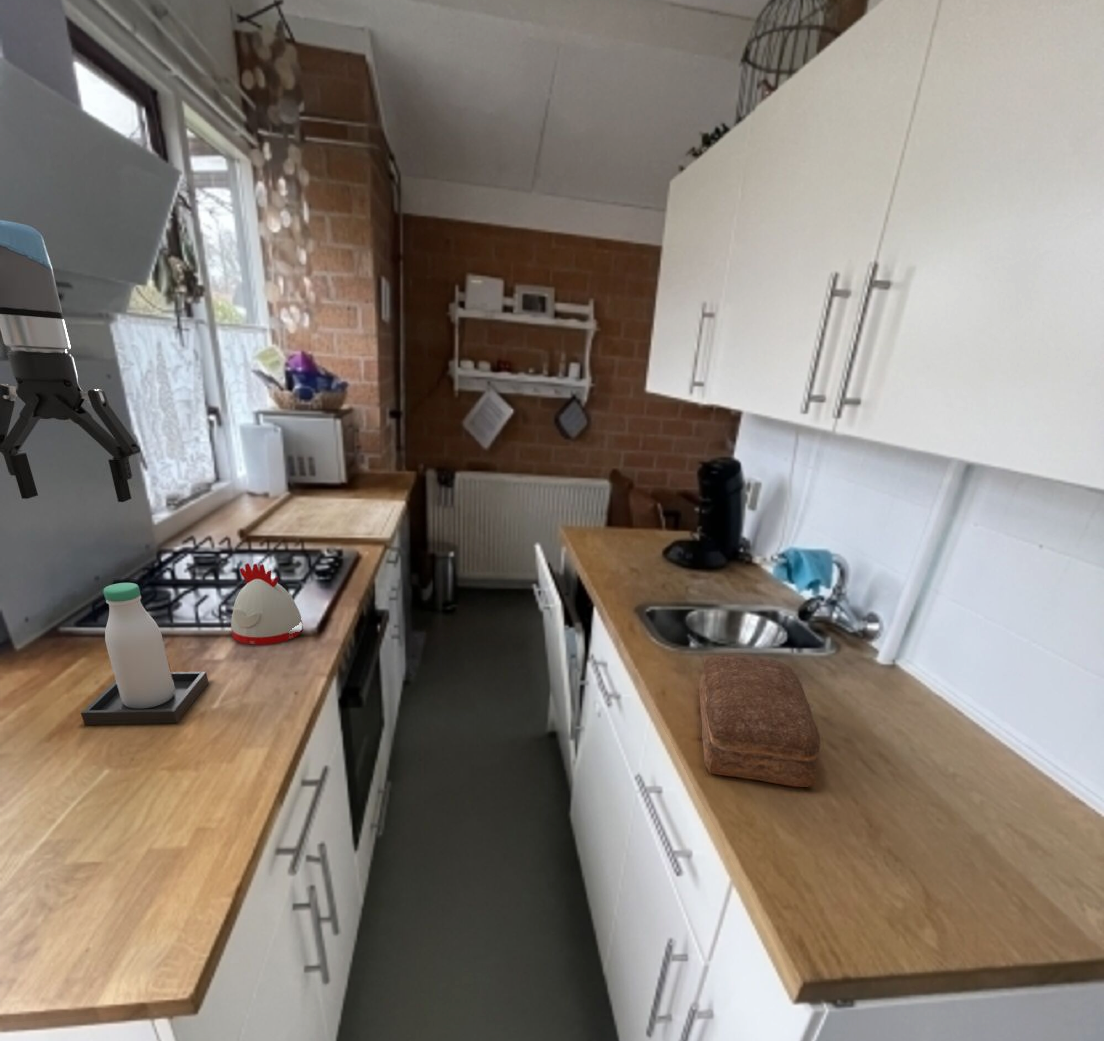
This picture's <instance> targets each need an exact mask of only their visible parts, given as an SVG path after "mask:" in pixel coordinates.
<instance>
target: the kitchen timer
mask: <svg viewBox="0 0 1104 1041" xmlns="http://www.w3.org/2000/svg"><path fill="white" fill-rule="evenodd" d="M239 572H240V574H241V576H242V577H243V579H244V581H245V583H246V584H245V585H244V586H243V587H242V588H241V589H240V591H239V593H238V594H237V596H236V598H235V601H234V603H233V610H232V614H231V621H230V629H231V634H232V635H231V636H232V637H233V639H234V640H235V641H237V642H239V643H242V644H246V645H254V646H255V645H256V646H260V645H262V646H263V645H272V644H278V643H282V642H286V641H289V640H291V639H294V638H296V637H297V636H299V635H300V634H301V633H302V632H295V633H293V634H290V635H289V633H288V632H289V631H290V630H292V628H294V627H295V626H297V625H299V623H300V622H301V621H302V622H303V619H302V620H301V618H302V615H301V612H300V610H299V608H298V606H297V604H296V602H295V600H294V598H293V594H291V593H289V592H288V591H287V589H285V588H284V587H283V586H282V585H281V584H279V583H278V582H279V576H276V577H274V578H273V580H272V570H267V571H266V568H265V566H264V564H263V563H262V564H260V565H258V563H254V564H253V565H252V568H251V565H250V563H249V562H247V563H245V564H244V567H241V568H239ZM232 632H233V633H232Z"/></svg>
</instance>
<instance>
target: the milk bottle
mask: <svg viewBox="0 0 1104 1041" xmlns="http://www.w3.org/2000/svg"><path fill="white" fill-rule="evenodd" d="M103 596H104V599H105V603H106V604H108V608H109V611H108V618H107V622H106V625H105V631H104V640H105V644H106V651H107V654H108V658H109V661H110V665H111V669H112V673H113V676H114V679H115V680H116V683H117V687H118V690H119V694H120V697H121V700H122V702H123V704H124V705H125V706H127V707H129V708H135V709H143V708H150V707H154V706H158V705H161V704H163V703H165V702H167V701H169V700H170V699H171V698H172V697H173V696H174V694H175V687H174V682H173V678H172V674H171V672H172V670H171V666H170V665H171V664H170V662H169V657H168V654H167V650H166V646H165V642H164V639H163V635H162V631H161V629H160V627H159V625H158V624H157V622H156V621H155V620H154V618H153V617H152V616H151V615H150V614H149V613H148V612H147V610H146V609H145V607H144V605H143V604H142V602H141V600H142V596H141V589H140V587H139V585H138V584H137V583H134V582H119V583H114V584H110V585H107V586H105V587H104V588H103ZM115 680H114V681H115Z"/></svg>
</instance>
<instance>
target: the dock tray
mask: <svg viewBox="0 0 1104 1041" xmlns="http://www.w3.org/2000/svg"><path fill="white" fill-rule="evenodd" d="M171 674H172V678H173V682H174V687H175V694H174V696H173V697H172V698H171V699H170V700H169V701H167V702H165V703H163V704H161V705H158V706H154V707H150V708H143V709H135V708H129V707H127V706H125V705H124V704H123V702H122V700H121V697H120V694H119V690H118V687H117V683H116V680H114V681H113V682H112V683H111V684H110V685H109V686H108V687H106V689H105V690H103V692H101V694H99V695H98V696H97V697H96V698H95V699H94V700H93V701H91V703H90V704H89V705H87V706H86V707H85V708H84V709H83V710H82V711H81V712H80V715H81V718H82V721H83V722H82V723H83V725H84V726H108V725H109V726H110V725H113V726H115V725H119V726H120V725H158V724H159V725H161V724H163V725H164V724H165V725H167V724H168V725H169V724H178V723H179V721H180V720H181V719H182V717H183V716H184V715H185V714H186V712H187V711H188V710H189V709H190V708H191V706H192V704H193V703H194V702H195V701H196V700H197V698H198V697H199V696H200V694H201V693H202V692H203V691H204V690H205V688H206V686H207V685H208V684H209V678H208V674H207V671H171Z"/></svg>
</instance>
